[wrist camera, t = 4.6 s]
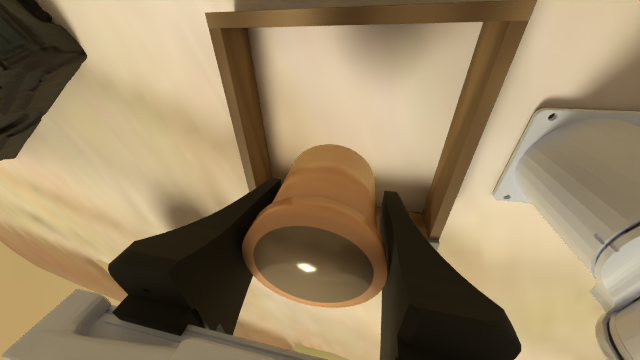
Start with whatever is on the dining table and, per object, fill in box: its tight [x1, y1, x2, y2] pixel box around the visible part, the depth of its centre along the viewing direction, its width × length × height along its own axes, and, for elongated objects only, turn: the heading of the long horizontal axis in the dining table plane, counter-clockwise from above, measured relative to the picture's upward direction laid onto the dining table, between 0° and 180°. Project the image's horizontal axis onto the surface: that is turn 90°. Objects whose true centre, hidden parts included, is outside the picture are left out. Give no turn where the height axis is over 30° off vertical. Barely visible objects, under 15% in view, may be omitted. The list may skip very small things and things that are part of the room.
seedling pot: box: [242, 144, 387, 308], centre depth 11 cm, size 6×6×6 cm
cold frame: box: [205, 0, 537, 251], centre depth 18 cm, size 18×18×4 cm
